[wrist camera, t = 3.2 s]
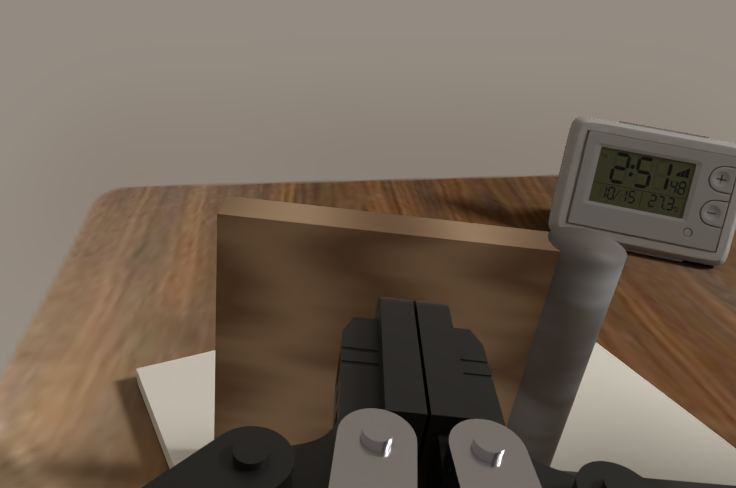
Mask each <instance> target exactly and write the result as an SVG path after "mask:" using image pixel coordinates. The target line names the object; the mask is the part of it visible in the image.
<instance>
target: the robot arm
mask: <svg viewBox="0 0 736 488" xmlns="http://www.w3.org/2000/svg"><path fill="white" fill-rule="evenodd" d="M491 376H492V375H491V372H490V368H489V365H488V361H487V357H486V354H485V350H484V346H483V344H482V343H481V342H480V341H479V340H478V339H477V337H476V336H475V335H474V334H473V333H472V332H471V330H470V329H461V328H453V324H452V319H451V314H450V310H449V306H448V304H442V303H433V302H424V301H416V300H415V301H414V302H413V301H412V300H406V299H397V298H388V297H379V298H378V302H377V307H376V313H375V319H369V318H360V317H353V318H352V319H351V321H350V322H349V323H348V324H347V326H346V327H345V328H344V329H343V334H342V341H341V348H340V355H339V362H338V368H337V375H336V382H335V395H334V413H333V428H332V429H331V430H330V432H328V433H327V434H326V435H324V436H323V437H321V438H319V439H317V440H314V441H311V442H307V443H302V444H297V445H290V443H289V442H288V441H287V439H285V438H284V437H283V436H282V435H281V434H279V433H277V432H276V431H273V430H271V429H268V428H264V427H258V426H245V427H239V428H235V429H232V430H229V431H227V432H225V433H224V434H222V435H220V436H219V437H217V438H216V439H214V440H213V441H211V442H210V443H208V444H207V445H205V446H204V447H202V448H201V449H199V450H198V451H196V452H195V453H193V454H192V455H190V456H189V457H187V458H186V459H184V460H183V461H181V462H180V463H178V464H177V465H175V466H174V467H172V468H171V469H169V470H168V471H166V472H165V473H163V474H162V475H160V476H159V477H157V478H156V479H154V480H153V481H151V482H150V483H148V484H147V485H145V486H144V487H142V488H656V487H655V486H653V485H652V484H651V483H649V482H648V481H647V480H645V479H644V478H643V477H641V476H640V475H638V474H637V473H635V472H634V471H632V470H630V469H629V468H627V467H624V466H622V465H619V464H616V463H613V462H607V461H593V462H590V463H587V464H585V465H583V466H582V467H581V468H580V470H579V471H578V473H577V476H574V475H571V474H569V473H566V472H563V471H560V470H557V469H554V468H552V467H549V466H546V465H544V464H541V463H539V462H537V461H536V460H534V459H532V458H531V457H530V456H529V454H528V451H527V449H526V447H525V445H524V443H523V442H522V440H521V439H520V438H519V437H518V436H517V435H516V434H515V433H514V432H513V431H511V430H510V429H508V428H507V427H506V426H505V422H504V418H503V415H502V411H501V408H500V404H499V400H498V397H497V393H496V390H495V386H494V382H493V379H491Z"/></svg>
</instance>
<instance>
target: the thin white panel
mask: <svg viewBox="0 0 736 488" xmlns="http://www.w3.org/2000/svg"><path fill="white" fill-rule="evenodd" d="M136 372H137V384H138V386H139V389H140V392H141V394H142V397H143V400H144V402H145V405H146V408H147V410H148V413H149V416H150V418H151V421H152V424H153V426H154V429H155V432H156V434H157V437H158V440H159V442H160V445H161V448H162V450H163V453H164V456H165V458H166V461H167V464H168V466H169V469H171V468H172V467H174V466H175V465H177V464H178V463H180V462H181V461H183V460H184V459H186V458H187V457H189V456H190V455H192V454H193V453H195V452H196V451H198V450H199V449H201V448H202V447H204V446H205V445H207V444H208V443H210V442H211V441H213V440H214V414H215V351H210V352H206V353H202V354H197V355H193V356H189V357H185V358H180V359H176V360H172V361H167V362H163V363H159V364H155V365H150V366H146V367H142V368H137V369H136ZM593 461H607V462H613V463H616V464H619V465H622V466H624V467H627V468H629V469H630V470H632V471H634V472H635V473H637V474H638V475H640V476H641V477H643V478H652V479H664V480H675V481H687V482H698V483H709V484H721V485H732V486H736V448H734V447H733V446H732V445H731V444H729V443H728V442H727V441H725V440H724V439H723V438H721V437H720V436H719V435H717V434H716V433H715V432H713V431H712V430H711V429H709V428H708V427H707V426H706V425H704V424H703V423H702V422H700V421H699V420H698V419H696V418H695V417H694V416H692V415H691V414H690V413H688V412H687V411H686V410H684V409H683V408H682V407H681V406H679V405H678V404H677V403H675V402H674V401H673V400H671V399H670V398H669V397H667V396H666V395H665V394H663V393H662V392H661V391H659V390H658V389H657V388H656V387H654V386H653V385H652V384H650V383H649V382H648V381H646V380H645V379H644V378H642V377H641V376H640V375H638V374H637V373H636V372H634V371H633V370H632V369H631V368H629V367H628V366H627V365H625V364H624V363H623V362H621V361H620V360H619V359H617V358H616V357H615V356H613V355H612V354H611V353H609V352H608V351H607V350H605V349H604V348H603V347H602V346H600V345H599V344H598V343H595V345H594V348H593V351H592V353H591V356H590V359H589V362H588V364H587V367H586V370H585V372H584V375H583V378H582V381H581V383H580V386H579V389H578V392H577V394H576V397H575V400H574V402H573V405H572V408H571V411H570V413H569V416H568V419H567V421H566V424H565V427H564V430H563V432H562V435H561V438H560V441H559V443H558V446H557V449H556V451H555V454H554V457H553V460H552V462H551V465H550V467H552V468H554V469H557V470H561V471H572V472H578V471H579V470H580V468H581V467H582V466H583V465H585V464H587V463H590V462H593Z"/></svg>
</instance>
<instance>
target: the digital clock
mask: <svg viewBox="0 0 736 488" xmlns="http://www.w3.org/2000/svg"><path fill="white" fill-rule="evenodd" d="M548 224H549V229H550V230H553V229H555V228H560V227H577V228H583V229H587V230H591V231H595V232H598V233H600V234H603V235H605V236H607V237H609V238H611V239H613V240H614V241H616V242H617V243H619V244H620V245H621V246H622V247H623V248H624V249H625V251H630V252H635V253H640V254H645V255H650V256H654V257H659V258H664V259H669V260H674V261H679V262H682V260H686V261H691V262H696V263H701V264H706V265H712V266H718V265H721V264H723V263H724V262H725V260H726V258H727V256H728V253H729V250H730V246H731V242H732V239H733V235H734V232H735V228H736V143H730V142H725V141H719V140H714V139H708V137H705V136H699V135H693V134H688V133H683V132H677V131H671V130H666V129H660V128H655V127H649V126H643V125H638V124H632V123H626V122H621V121H620V122H613V121H608V120H602V119H597V118H591V117H578V118H576V119H575V120H574V121H573V123H572V125H571V128H570V131H569V135H568V139H567V143H566V147H565V152H564V156H563V161H562V165H561V169H560V173H559V177H558V181H557V186H556V190H555V194H554V198H553V203H552V207H551V211H550V216H549V222H548Z"/></svg>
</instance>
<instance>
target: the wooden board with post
mask: <svg viewBox="0 0 736 488" xmlns="http://www.w3.org/2000/svg"><path fill="white" fill-rule="evenodd" d="M626 258H627V253H626V251H625V249H624V248H623V247H622V246H621V245H620V244H619V243H617V242H616V241H614V240H613V239H611V238H609V237H607V236H605V235H603V234H600V233H598V232H595V231H591V230H587V229H583V228H577V227H560V228H555V229H553V230H551V231H550V232H546V231H537V230H529V229H520V228H511V227H502V226H493V225H484V224H475V223H466V222H457V221H448V220H439V219H430V218H421V217H412V216H403V215H394V214H385V213H376V212H367V211H359V210H350V209H341V208H332V207H323V206H314V205H305V204H296V203H287V202H278V201H269V200H260V199H251V198H242V197H233V196H226V197H225V199H224V201H223V203H222V205H221V207H220V209H219V212H218V214H217V277H216V346H215V414H214V439H216V438H217V437H219V436H220V435H222V434H224V433H225V432H227V431H229V430H232V429H235V428H239V427H245V426H258V427H264V428H268V429H271V430H273V431H276V432H277V433H279V434H281V435H282V436H283V437H284V438H285V439H287V441H288V442H289V443H290V445H297V444H302V443H307V442H311V441H314V440H317V439H319V438H321V437H323V436H324V435H326V434H327V433H328V432H330V430H331V429H332V428H333V413H334V395H335V382H336V375H337V368H338V362H339V355H340V348H341V341H342V334H343V329H344V328H345V327H346V326H347V324H348V323H349V322H350V321H351V319H352V318H353V317H360V318H369V319H375V313H376V307H377V302H378V298H379V297H388V298H397V299H406V300H412V301H413V302H414V301H415V300H416V301H424V302H433V303H442V304H448V306H449V310H450V314H451V319H452V324H453V328H461V329H470V330H471V332H472V333H473V334H474V335H475V336H476V337H477V339H478V340H479V341H480V342H481V343H482V344H483V346H484V350H485V354H486V357H487V361H488V365H489V368H490V372H491V375H492V376H491V379H493V382H494V386H495V390H496V393H497V397H498V400H499V404H500V408H501V411H502V415H503V418H504V422H505V426H506V427H507V428H508V429H510V430H511V431H513V432H514V433H515V434H516V435H517V436H518V437H519V438H520V439H521V440H522V442H523V443H524V445H525V447H526V449H527V451H528V454H529V456H530V457H531V458H532V459H534V460H536V461H537V462H539V463H541V464H544V465H546V466H549V467H550V465H551V462H552V460H553V457H554V454H555V451H556V449H557V446H558V443H559V441H560V438H561V435H562V432H563V430H564V427H565V424H566V421H567V419H568V416H569V413H570V411H571V408H572V405H573V402H574V400H575V397H576V394H577V392H578V389H579V386H580V383H581V381H582V378H583V375H584V372H585V370H586V367H587V364H588V362H589V359H590V356H591V353H592V351H593V348H594V345H595V343H596V340H597V337H598V334H599V332H600V329H601V326H602V324H603V321H604V318H605V315H606V313H607V310H608V307H609V304H610V302H611V299H612V296H613V294H614V291H615V288H616V285H617V283H618V280H619V277H620V275H621V272H622V269H623V266H624V264H625V261H626ZM560 471H561V470H560ZM563 472H566V473H569V474H571V475H574V476H577V473H578V472H572V471H563ZM644 479H645V480H647V481H648V482H649V483H651V484H652V485H653V486H655V487H656V488H736V486H732V485H721V484H709V483H698V482H687V481H675V480H664V479H652V478H644Z"/></svg>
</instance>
